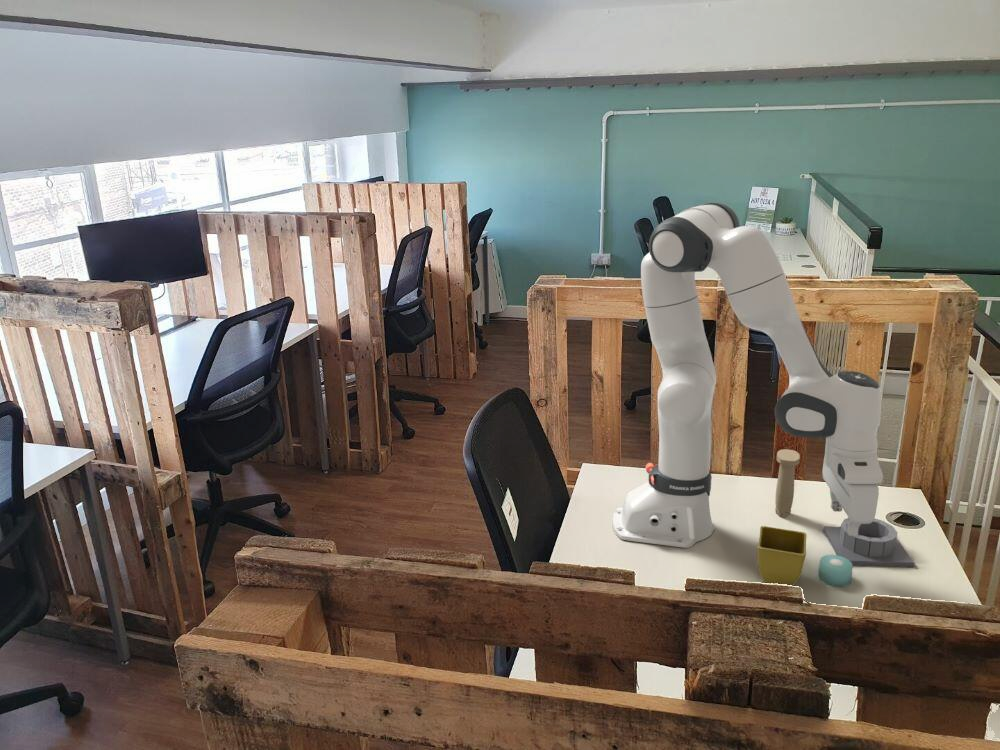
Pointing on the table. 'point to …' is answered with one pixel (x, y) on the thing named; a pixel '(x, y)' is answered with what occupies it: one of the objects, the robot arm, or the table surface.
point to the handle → (785, 481)
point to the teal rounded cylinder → (835, 570)
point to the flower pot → (781, 555)
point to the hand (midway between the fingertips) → (843, 521)
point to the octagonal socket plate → (869, 545)
